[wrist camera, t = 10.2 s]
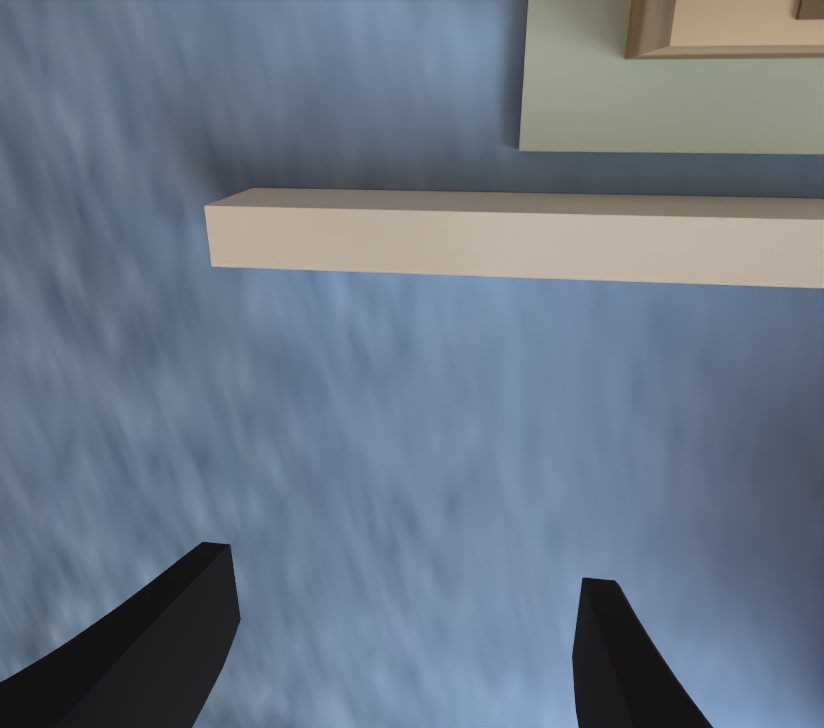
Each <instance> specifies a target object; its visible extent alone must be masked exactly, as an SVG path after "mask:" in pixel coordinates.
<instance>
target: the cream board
mask: <svg viewBox="0 0 824 728" xmlns="http://www.w3.org/2000/svg"><path fill="white" fill-rule="evenodd" d="M204 209H205V217H206V225H207V233H208V241H209V249H210V257H211V265H212V267H237V268H265V269H293V270H321V271H349V272H378V273H406V274H434V275H462V276H490V277H518V278H546V279H574V280H602V281H630V282H658V283H686V284H714V285H742V286H770V287H798V288H824V199H821V198H768V197H715V196H663V195H610V194H557V193H504V192H451V191H398V190H346V189H293V188H252V189H249V190H246V191H243V192H241V193H238V194H235V195H232V196H230V197H227V198H224V199H221V200H219V201H216V202H213V203H210V204H208V205H205V206H204Z"/></svg>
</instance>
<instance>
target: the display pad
mask: <svg viewBox="0 0 824 728" xmlns="http://www.w3.org/2000/svg"><path fill="white" fill-rule="evenodd" d="M631 1H632V0H528V8H527V24H526V40H525V56H524V73H523V89H522V105H521V121H520V137H519V151H547V152H640V153H733V154H824V58H804V59H651V60H625V52H626V44H627V35H628V27H629V18H630V10H631Z"/></svg>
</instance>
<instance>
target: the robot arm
mask: <svg viewBox="0 0 824 728" xmlns="http://www.w3.org/2000/svg"><path fill="white" fill-rule="evenodd" d="M240 620H241V619H240V611H239V604H238V597H237V590H236V582H235V575H234V568H233V561H232V553H231V546H230V544H220V543H209V542H202V543H201V544H199V545H198V546H197V547H195V548H194V549H193V550H191V551H190V552H189V553H187V554H186V555H185V556H183V557H182V558H181V559H180V560H178V561H177V562H176V563H174V564H173V565H172V566H171V567H169V568H168V569H167V570H166V571H164V572H163V573H162V574H160V575H159V576H158V577H157V578H155V579H154V580H153V581H151V582H150V583H149V584H148V585H146V586H145V587H144V588H142V589H141V590H140V591H138V592H137V593H136V594H134V595H133V596H132V597H130V598H129V599H128V600H127V601H125V602H124V603H123V604H121V605H120V606H119V607H117V608H116V609H114V610H113V611H111V612H110V613H109V614H107V615H106V616H104V617H103V618H101V619H100V620H99V621H97V622H96V623H94V624H93V625H91V626H90V627H89V628H87V629H86V630H84V631H83V632H82V633H80V634H79V635H77V636H76V637H74V638H73V639H71V640H70V641H68V642H67V643H65V644H64V645H62V646H61V647H59V648H58V649H56V650H54V651H53V652H51V653H50V654H48V655H46V656H45V657H43V658H42V659H40V660H38V661H36V662H35V663H33V664H31V665H30V666H28V667H26V668H25V669H23V670H21V671H20V672H18V673H16V674H15V675H13V676H11V677H9V678H8V679H6V680H4V681H2V682H0V728H192V727H193V725H194V723H195V721H196V719H197V717H198V715H199V713H200V711H201V709H202V708H203V706H204V704H205V702H206V700H207V698H208V696H209V694H210V692H211V690H212V688H213V686H214V684H215V682H216V680H217V678H218V676H219V674H220V672H221V670H222V668H223V666H224V663H225V661H226V658H227V656H228V653H229V650H230V648H231V645H232V642H233V640H234V637H235V634H236V631H237V628H238V626H239V623H240ZM572 660H573V677H574V692H575V706H576V714H577V720H578V726H579V728H713V727H712V725H711V724H710V723H709V722H708V720H707V719H706V718H705V716H704V715H703V714H702V712H701V711H700V710H699V708H698V707H697V706H696V704H695V703H694V702H693V700H692V699H691V698H690V696H689V695H688V694H687V692H686V691H685V689H684V688H683V687H682V685H681V684H680V682H679V681H678V680H677V678H676V677H675V675H674V674H673V672H672V671H671V669H670V668H669V666H668V665H667V663H666V662H665V660H664V659H663V657H662V656H661V654H660V653H659V652H658V650H657V648H656V647H655V645H654V644H653V642H652V641H651V639H650V637H649V636H648V634H647V633H646V631H645V629H644V628H643V626H642V624H641V623H640V621H639V619H638V618H637V616H636V614H635V613H634V611H633V609H632V607H631V606H630V604H629V602H628V600H627V598H626V597H625V595H624V593H623V591H622V589H621V587H620V586H619V584H618V583H617V582H616V581H615V580H604V579H593V578H582V586H581V593H580V601H579V608H578V616H577V624H576V631H575V639H574V646H573V654H572Z"/></svg>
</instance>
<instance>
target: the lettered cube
mask: <svg viewBox="0 0 824 728" xmlns="http://www.w3.org/2000/svg"><path fill="white" fill-rule="evenodd" d="M804 58H824V0H632V1H631V10H630V18H629V27H628V35H627V44H626V52H625V60H651V59H804Z"/></svg>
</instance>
